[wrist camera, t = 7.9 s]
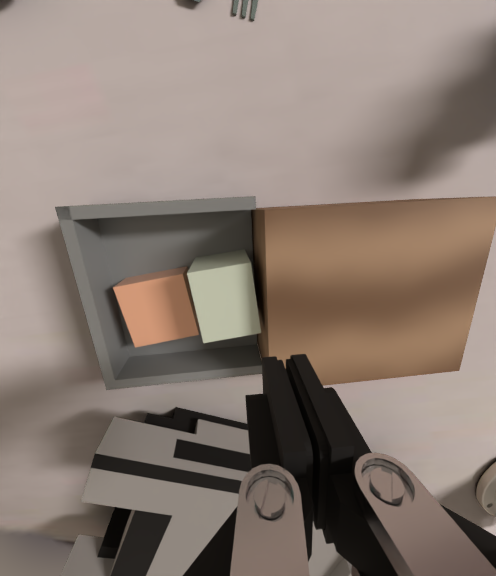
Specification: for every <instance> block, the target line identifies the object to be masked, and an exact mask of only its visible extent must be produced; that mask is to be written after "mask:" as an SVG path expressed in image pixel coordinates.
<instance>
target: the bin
mask: <svg viewBox="0 0 496 576" xmlns="http://www.w3.org/2000/svg"><path fill="white" fill-rule="evenodd" d="M55 209H56V212H57V216H58V219H59V223H60V226H61V230H62V234H63V237H64V241H65V244H66V248H67V251H68V255H69V258H70V262H71V266H72V269H73V273H74V276H75V280H76V283H77V287H78V290H79V294H80V298H81V301H82V305H83V308H84V312H85V315H86V319H87V322H88V326H89V330H90V333H91V337H92V340H93V344H94V347H95V351H96V354H97V358H98V362H99V365H100V369H101V372H102V376H103V379H104V383H105V386H106V390H110V389H120V388H129V387H139V386H149V385H158V384H168V383H178V382H187V381H197V380H207V379H216V378H226V377H235V376H245V375H255V374H262V362H261V358H260V354H259V350H258V346H257V334H253V335H247V336H242V337H236V338H230V339H225V340H219V341H213V342H208V343H203V339H202V335H201V331H200V332H199V335H195V336H190V337H185V338H180V339H176V340H171V341H166V342H161V343H156V344H151V345H146V346H141V347H136V348H135V346H134V343H133V340H132V338H131V335H130V332H129V330H128V327H127V324H126V321H125V319H124V316H123V313H122V311H121V308H120V305H119V302H118V300H117V297H116V294H115V292H114V289H113V287H114V286H116V285H117V284H118V283H120V282H121V281H122V280H124V279H125V278H128V277H133V276H138V275H144V274H149V273H154V272H159V271H165V270H170V269H175V268H180V267H186V266H187V267H188V270H189V269H190V267H191V265H192V263H193V261H194V259H195V257H201V256H207V255H213V254H219V253H225V252H231V251H237V250H244V249H245V251H246V253H247V256H248V258H249V260H250V262H251V267H252V274H253V281H254V264H253V243H252V221H251V210H252V209H256V198H255V196H251V197H232V198H214V199H195V200H176V201H157V202H138V203H119V204H100V205H82V206H63V207H55ZM254 287H255V286H254Z"/></svg>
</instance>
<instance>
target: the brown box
mask: <svg viewBox="0 0 496 576" xmlns="http://www.w3.org/2000/svg"><path fill="white" fill-rule="evenodd" d="M251 217H252V238H253V260H254V281H255V294H256V301H257V308H258V315H259V321H260V328H261V333H258V334H257V341H258V345H259V349H260V353H261V357H273V356H276V357H277V360H282V361H283V363H284V366H285V369H286V359H290V356H291V355H296V354H306V355H307V357H308V359H309V361H310V363H311V365H312V367H313V369H314V371H315V372H316V374H317V376H318V378H319V380H320V382H321V384H322V386H323V385H332V384H341V383H350V382H360V381H369V380H378V379H387V378H396V377H405V376H415V375H424V374H433V373H442V372H451V371H459V369H460V365H461V361H462V357H463V353H464V349H465V346H466V342H467V338H468V334H469V330H470V326H471V322H472V318H473V314H474V310H475V306H476V302H477V298H478V294H479V290H480V286H481V282H482V278H483V274H484V270H485V266H486V262H487V258H488V255H489V251H490V247H491V243H492V239H493V235H494V231H495V227H496V197H468V198H438V199H411V200H394V201H376V202H358V203H341V204H323V205H305V206H288V207H270V208H256V209H252V210H251Z"/></svg>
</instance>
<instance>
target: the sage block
mask: <svg viewBox="0 0 496 576" xmlns="http://www.w3.org/2000/svg"><path fill="white" fill-rule="evenodd" d="M187 275H188V280H189V284H190V288H191V292H192V297H193V301H194V305H195V309H196V314H197V318H198V322H199V326H200V331H201V335H202V339H203V343H208V342H213V341H219V340H225V339H230V338H236V337H242V336H247V335H253V334H258V333H261V328H260V321H259V315H258V308H257V301H256V294H255V287H254V281H253V274H252V267H251V262H250V260H249V258H248V256H247V253H246V251H245V249H244V250H237V251H231V252H225V253H219V254H213V255H207V256H201V257H195V259H194V261H193V263H192V265H191V267H190V269H189V270H188V272H187Z"/></svg>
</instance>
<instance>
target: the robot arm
mask: <svg viewBox="0 0 496 576" xmlns="http://www.w3.org/2000/svg"><path fill="white" fill-rule="evenodd" d="M262 376H263V394H255V395H246V410H247V424H248V437H249V449H250V461H251V471H249V472H248V473H247V474H246V476H245V477H244V479H243V481H242V482H241V486H240V490H239V496H238V506H237V507H236V508H235V510H234V511H233V512H232V513H231V515H230V516H229V517H228V519H227V520H226V521H225V522H224V524H223V525H222V526H221V527H220V529H219V530H218V531H217V533H216V534H215V535H214V536H213V538H212V539H211V540H210V541H209V543H208V544H207V545H206V547H205V548H204V549H203V550H202V552H201V553H200V554H199V555H198V557H197V558H196V559H195V560H194V562H193V563H192V564H191V566H190V567H189V568H188V569H187V571H186V572H185V573H184V574H183V576H310V575H309V566H308V562H309V560H310V558H311V555H312V533H313V522H314V526H315V528H316V530H319V529H322V531H323V535H324V538H325V542H326V544H331V543H334V545H335V549H336V552H337V553H339V554H340V555H341V556H342V557H343V558H344V559H346V560H347V563H348V566H349V569H350V572H351V575H352V576H496V536H495V535H493V534H491V533H489V532H488V531H486V530H484V529H482V528H481V527H479V526H477V525H475V524H474V523H472V522H470V521H468V520H467V519H465V518H463V517H461V516H460V515H458V514H456V513H454V512H452V511H451V510H449V509H447V508H445V507H444V506H442V505H440V504H439V503H438V502H437V500H436V499H435V498H434V497H433V496H432V495H431V493H430V492H429V491H428V490H427V489H426V488H425V486H424V485H423V484H422V483H421V482H420V481H419V479H418V478H417V477H416V476H415V475H414V474H413V472H411V471H410V470H409V469H408V468H407V467H406V466H405V465H404V464H403V463H401V462H400V461H398V460H397V459H395V458H393V457H390V456H388V455H386V454H381V453H372V452H371V451H370V449H369V447H368V446H367V444H366V442H365V440H364V439H363V437H362V435H361V434H360V432H359V430H358V428H357V427H356V425H355V423H354V422H353V420H352V418H351V416H350V415H349V413H348V411H347V410H346V408H345V406H344V405H343V403H342V401H341V399H340V398H339V396H338V394H337V393H336V391H335V390H334V389H333V388H332V387H331V388H323V386H322V384H321V382H320V380H319V378H318V376H317V374H316V372H315V371H314V369H313V367H312V365H311V363H310V361H309V359H308V357H307V355H306V354H296V355H291V356H290V359H286V369H285V366H284V363H283V361H282V360H277V357H276V356H273V357H262ZM476 497H477V500H478V502H479V503H480V504H481V506H482V507H483V508H484V509H485V511H487V512H488V513H489V514H491V515H493V516H496V462H495V463H493V464H492V465H491V466H490V467H489V468H488V469H487V470H486V471H485V472H484V474H483V475H482V477H481V478H480V480H479V483H478V485H477V489H476Z"/></svg>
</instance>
